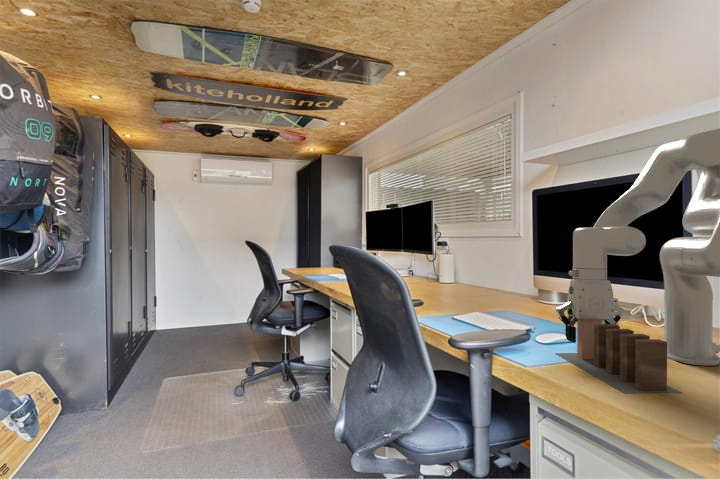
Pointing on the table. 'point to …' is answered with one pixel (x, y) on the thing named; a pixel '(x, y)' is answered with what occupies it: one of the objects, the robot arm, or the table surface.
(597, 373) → the mat
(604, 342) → the domino
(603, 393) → the table surface
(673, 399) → the table surface
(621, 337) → the domino
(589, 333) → the domino
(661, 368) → the domino
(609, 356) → the domino
